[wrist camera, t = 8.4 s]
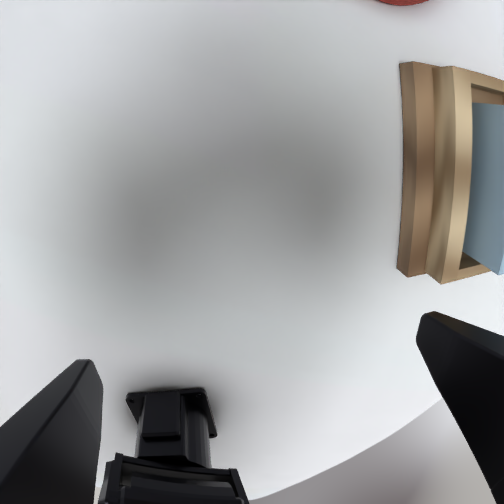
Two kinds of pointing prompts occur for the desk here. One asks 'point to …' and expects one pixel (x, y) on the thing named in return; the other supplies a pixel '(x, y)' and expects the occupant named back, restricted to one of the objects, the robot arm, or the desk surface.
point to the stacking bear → (403, 2)
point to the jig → (439, 167)
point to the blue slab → (486, 188)
